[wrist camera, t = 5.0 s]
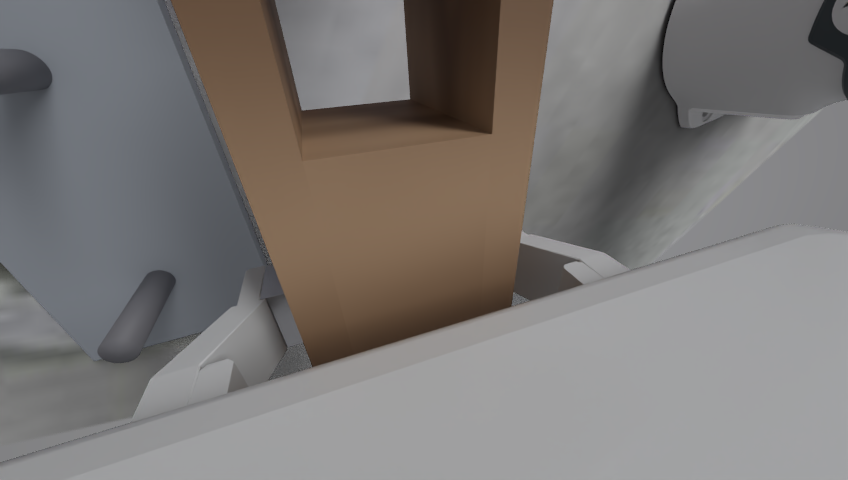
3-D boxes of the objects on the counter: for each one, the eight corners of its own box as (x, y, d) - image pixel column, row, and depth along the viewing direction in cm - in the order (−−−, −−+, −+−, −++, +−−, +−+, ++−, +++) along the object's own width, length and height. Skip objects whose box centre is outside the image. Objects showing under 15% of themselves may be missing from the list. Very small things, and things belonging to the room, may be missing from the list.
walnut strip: (166, -222, 5) (-216, -996, 1) (430, -186, 7) (627, -545, 3) (355, 407, 16) (374, 525, 12) (444, 376, 17) (488, 474, 13)
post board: (137, -68, 14) (25, -161, 8) (281, 300, 25) (279, 372, 19) (-284, -86, 10) (-992, -264, 5) (102, 347, 22) (35, 451, 16)
